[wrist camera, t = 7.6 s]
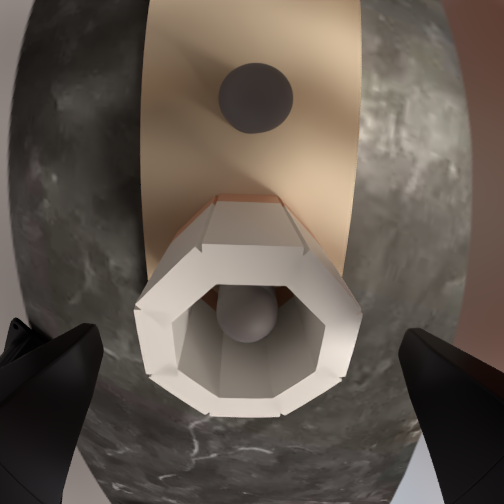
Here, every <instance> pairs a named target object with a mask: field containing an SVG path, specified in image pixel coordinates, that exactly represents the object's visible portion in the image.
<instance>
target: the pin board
mask: <svg viewBox="0 0 504 504" xmlns="http://www.w3.org/2000/svg"><path fill="white" fill-rule="evenodd" d="M360 103H361V12H360V0H150V3H149V11H148V19H147V27H146V36H145V47H144V58H143V72H142V90H141V119H140V167H141V197H142V216H143V231H144V243H145V255H146V265H147V275H148V281H149V279H150V277H151V276H152V274H153V272H154V270H155V269H156V267H157V265H158V264H159V262H160V260H161V259H162V257H163V255H164V254H165V252H166V250H167V249H168V247H169V245H170V244H171V242H172V240H173V239H174V237H175V235H176V234H177V232H178V231H179V230H180V229H181V228H182V227H183V226H184V225H185V224H186V223H187V222H188V221H189V220H190V219H191V218H192V217H193V216H194V215H195V214H196V213H197V212H198V211H199V210H200V209H202V208H203V207H204V206H205V205H206V204H207V203H208V202H209V201H210V200H211V199H212V198H213V197H214V196H215V195H216V196H217V197H219V194H220V193H225V194H256V195H276V196H277V198H279V197H280V198H281V199H282V200H283V201H284V202H285V203H286V205H287V206H288V207H289V208H290V209H291V210H292V211H293V212H294V213H295V215H296V216H297V217H298V218H299V219H300V220H301V221H302V223H303V224H304V225H305V226H306V227H307V228H308V229H309V231H310V232H311V233H312V234H313V235H314V236H315V238H316V239H317V241H318V242H319V244H320V245H321V247H322V248H323V250H324V251H325V253H326V254H327V256H328V257H329V259H330V260H331V262H332V263H333V265H334V266H335V268H336V270H337V271H338V273H339V274H340V276H341V277H342V273H343V267H344V261H345V255H346V248H347V241H348V234H349V227H350V219H351V212H352V203H353V195H354V185H355V175H356V165H357V153H358V139H359V124H360ZM279 287H281V286H263V285H225V284H216V285H215V286H214V287H212V289H213V290H214V291H215V292H216V293H218V300H217V309H216V315H217V320H218V323H219V325H220V327H221V329H222V330H223V331H224V333H225V334H227V335H228V336H229V337H230V338H232V339H234V340H236V341H239V342H246V343H249V342H255V341H259V340H261V339H263V338H264V337H266V336H267V335H268V334H269V333H270V332H271V331H272V330H273V328H274V327H275V325H276V322H277V319H278V304H277V299H276V294H275V291H276V290H277V289H278V288H279Z"/></svg>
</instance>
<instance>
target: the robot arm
mask: <svg viewBox="0 0 504 504" xmlns="http://www.w3.org/2000/svg"><path fill="white" fill-rule="evenodd" d="M103 352H104V349H103V344H102V341H101V337H100V333H99V329H98V327H97V326H96V325H95V324H89V323H83V324H81V325H79V326H77V327H75V328H73V329H71V330H70V331H68V332H66V333H64V334H62V335H60V336H58V337H57V338H55V339H53V340H51V341H49V342H48V343H47V342H46V341H45V340H44V339H42V338H41V337H40V336H39V335H37V334H36V333H35V332H34V331H33V330H31V329H30V328H29V327H28V326H27V325H26V324H24V323H23V322H22V321H21V320H20V319H18V318H14V319H13V320H12V321H11V323H10V327H9V331H8V335H7V340H6V344H5V349H4V352H3V354H2V355H1V356H0V504H62V493H63V489H64V485H65V481H66V477H67V474H68V471H69V467H70V464H71V460H72V457H73V454H74V450H75V447H76V444H77V441H78V438H79V435H80V431H81V428H82V425H83V422H84V420H85V417H86V414H87V411H88V408H89V405H90V402H91V399H92V396H93V393H94V389H95V385H96V380H97V376H98V372H99V369H100V365H101V361H102V357H103ZM398 356H399V361H400V364H401V368H402V371H403V375H404V378H405V382H406V386H407V389H408V393H409V396H410V399H411V402H412V405H413V408H414V410H415V413H416V416H417V418H418V421H419V424H420V427H421V430H422V432H423V435H424V438H425V441H426V444H427V447H428V450H429V453H430V456H431V459H432V462H433V466H434V469H435V472H436V475H437V479H438V482H439V486H440V489H441V492H442V496H443V500H444V503H445V504H504V373H503V372H501V371H499V370H498V369H496V368H494V367H492V366H490V365H488V364H487V363H485V362H483V361H481V360H479V359H477V358H475V357H473V356H472V355H470V354H468V353H466V352H464V351H462V350H460V349H459V348H457V347H455V346H453V345H451V344H449V343H447V342H445V341H444V340H442V339H440V338H438V337H436V336H434V335H432V334H430V333H428V332H427V331H425V330H423V329H421V328H409V329H407V330H406V332H405V334H404V337H403V340H402V343H401V345H400V348H399V352H398Z"/></svg>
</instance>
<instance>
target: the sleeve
mask: <svg viewBox="0 0 504 504" xmlns="http://www.w3.org/2000/svg"><path fill="white" fill-rule="evenodd" d="M216 284H225V285H263V286H281V287H279V288H278V289H277V290H276V291H275V294H276V299H277V304H278V319H277V322H276V325H275V327H274V328H273V330H272V331H271V332H270V333H269V334H268V335H267V336H266V337H264V338H263V339H261V340H259V341H255V342H249V343H246V342H239V341H236V340H234V339H232V338H230V337H229V336H228V335H227V334H225V333H224V331H223V330H222V329H221V327H220V325H219V323H218V320H217V315H216V309H217V300H218V293H216V292H215V291H214V290H213V289H212V287H214V286H215V285H216ZM135 305H136V306H135V308H134V315H135V321H136V326H137V332H138V337H139V342H140V347H141V352H142V357H143V362H144V366H145V371H146V374H150V376H149V378H150V379H152V380H153V381H154V382H156V383H157V384H159V385H160V386H162V387H163V388H164V389H166V390H167V391H169V392H170V393H172V394H173V395H175V396H176V397H178V398H179V399H181V400H182V401H184V402H185V403H187V404H189V405H190V406H192V407H193V408H195V409H197V410H198V411H200V412H201V413H203V414H207V413H209V412H210V416H217V417H280V413H281V414H283V415H284V416H285V415H286V414H288V413H290V412H292V411H293V410H295V409H297V408H299V407H300V406H302V405H304V404H305V403H307V402H309V401H310V400H312V399H314V398H315V397H317V396H319V395H320V394H322V393H323V392H325V391H326V390H328V389H330V388H331V387H333V386H334V385H336V384H337V383H339V382H340V381H342V379H341V377H345V376H346V372H347V369H348V366H349V363H350V359H351V356H352V353H353V349H354V346H355V342H356V338H357V335H358V331H359V327H360V324H361V320H362V316H363V314H362V312H361V310H362V309H361V307H360V306H359V304H358V303H357V301H356V299H355V298H354V296H353V295H352V293H351V291H350V290H349V288H348V287H347V285H346V284H345V282H344V280H343V279H342V277H341V276H340V274H339V273H338V271H337V270H336V268H335V266H334V265H333V263H332V262H331V260H330V259H329V257H328V256H327V254H326V253H325V251H324V250H323V248H322V247H321V245H320V244H319V242H318V241H317V239H316V238H315V236H314V235H313V234H312V233H311V232H310V231H309V229H308V228H307V227H306V226H305V225H304V224H303V223H302V221H301V220H300V219H299V218H298V217H297V216H296V215H295V213H294V212H293V211H292V210H291V209H290V208H289V207H288V206H287V205H286V203H285V202H284V201H283V200H282V199H281V198H280V197H279V198H277V196H276V195H256V194H225V193H220V194H219V197H217V196H216V195H215V196H214V197H213V198H212V199H211V200H210V201H209V202H208V203H207V204H206V205H205V206H204V207H203V208H202V209H200V210H199V211H198V212H197V213H196V214H195V215H194V216H193V217H192V218H191V219H190V220H189V221H188V222H187V223H186V224H185V225H184V226H183V227H182V228H181V229H180V230H179V231H178V232H177V234H176V235H175V237H174V239H173V240H172V242H171V244H170V245H169V247H168V249H167V250H166V252H165V254H164V255H163V257H162V259H161V260H160V262H159V264H158V265H157V267H156V269H155V270H154V272H153V274H152V276H151V277H150V279H149V281H148V283H147V284H146V286H145V288H144V290H143V291H142V293H141V295H140V297H139V299H138V300H137V302H136V304H135Z"/></svg>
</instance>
